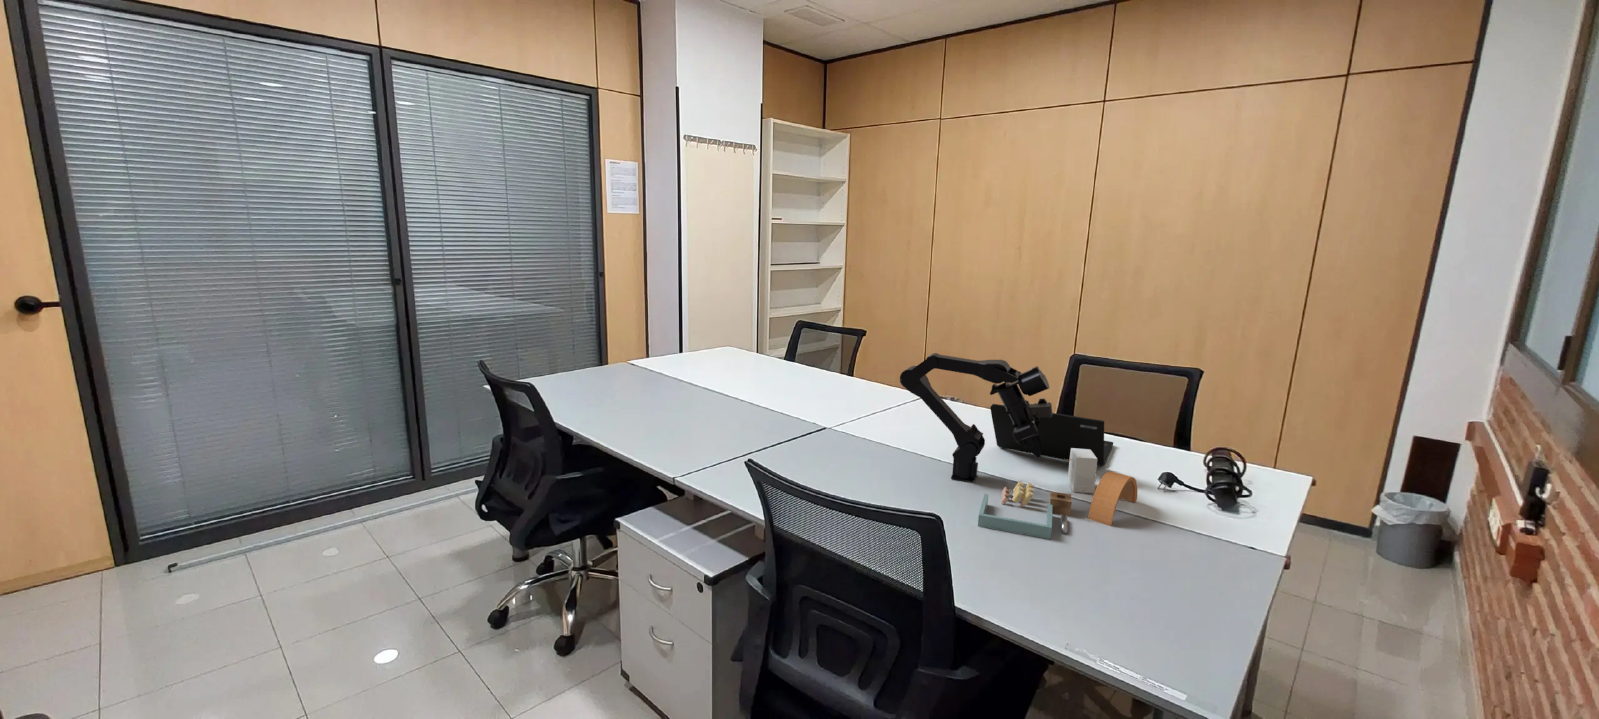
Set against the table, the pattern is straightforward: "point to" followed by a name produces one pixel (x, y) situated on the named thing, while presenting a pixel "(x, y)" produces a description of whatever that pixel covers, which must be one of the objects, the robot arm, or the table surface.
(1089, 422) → the laptop
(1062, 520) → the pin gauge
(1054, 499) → the bored block
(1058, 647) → the table surface
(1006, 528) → the tray
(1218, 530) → the table surface
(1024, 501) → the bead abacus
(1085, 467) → the small box
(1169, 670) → the table surface
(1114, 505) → the arch
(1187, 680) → the table surface
